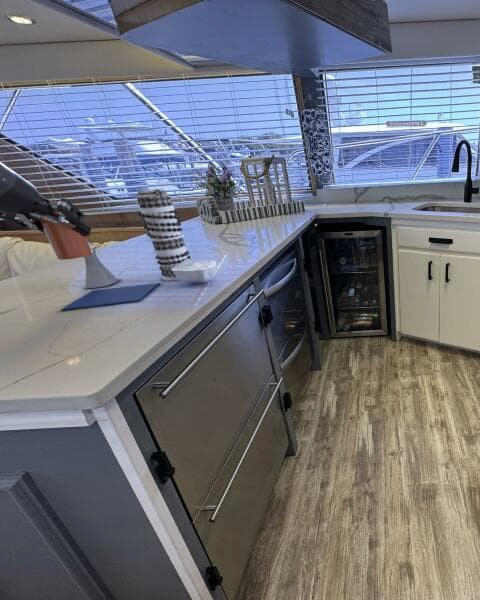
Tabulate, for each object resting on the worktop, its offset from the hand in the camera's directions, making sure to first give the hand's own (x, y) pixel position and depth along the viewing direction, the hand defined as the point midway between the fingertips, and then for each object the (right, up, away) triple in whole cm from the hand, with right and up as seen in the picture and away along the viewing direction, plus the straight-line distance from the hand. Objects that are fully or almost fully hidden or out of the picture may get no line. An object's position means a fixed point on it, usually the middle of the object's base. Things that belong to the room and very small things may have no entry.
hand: (72, 233), depth 73 cm
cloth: (+1, -14, +10) cm, 17 cm away
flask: (-11, -11, +20) cm, 25 cm away
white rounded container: (+18, -10, +18) cm, 28 cm away
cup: (0, -5, 0) cm, 5 cm away
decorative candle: (+8, -8, +24) cm, 27 cm away
